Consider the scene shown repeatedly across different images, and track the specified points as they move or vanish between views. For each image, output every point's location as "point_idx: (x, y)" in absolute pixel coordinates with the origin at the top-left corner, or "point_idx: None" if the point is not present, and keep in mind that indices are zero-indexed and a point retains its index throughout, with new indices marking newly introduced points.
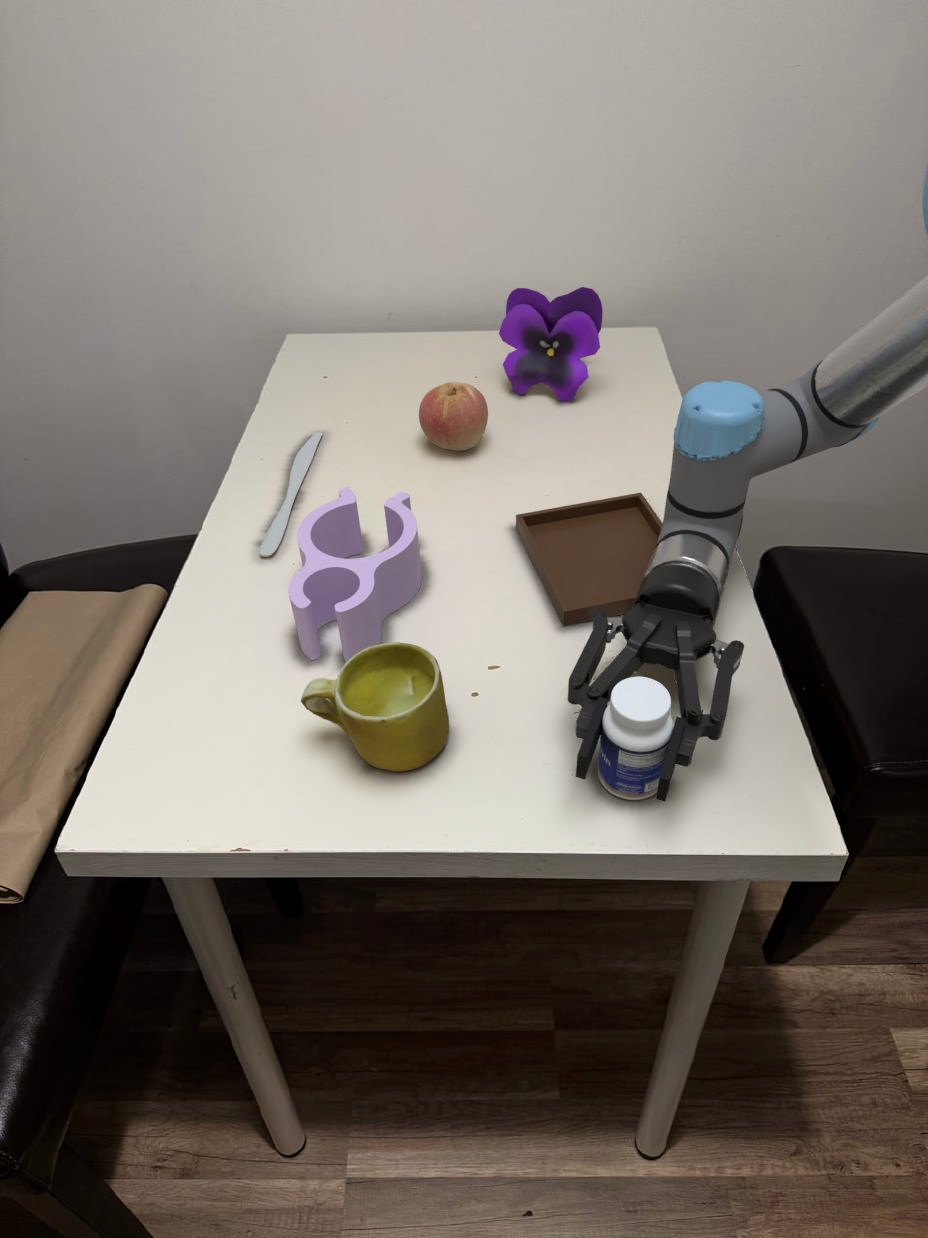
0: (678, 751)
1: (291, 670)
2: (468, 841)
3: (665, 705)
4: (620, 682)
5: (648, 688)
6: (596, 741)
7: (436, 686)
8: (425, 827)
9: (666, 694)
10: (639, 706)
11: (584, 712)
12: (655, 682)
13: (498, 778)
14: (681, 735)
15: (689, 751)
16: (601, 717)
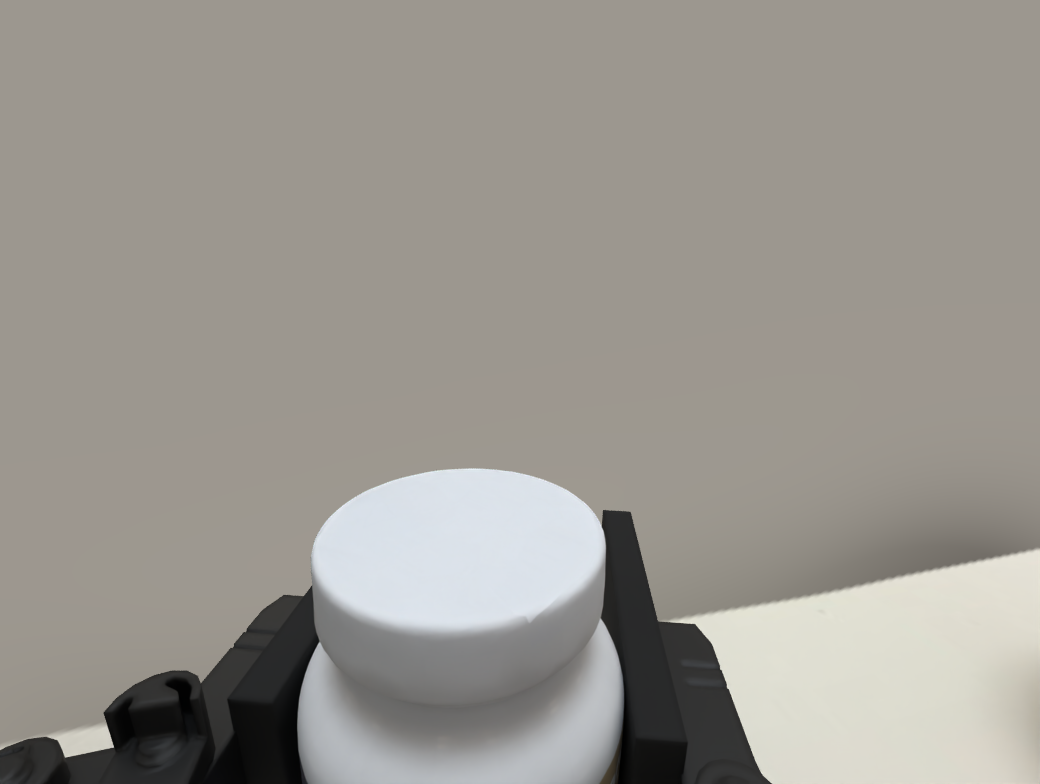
0: None
1: None
2: (772, 608)
3: (352, 513)
4: (581, 570)
5: (424, 563)
6: None
7: None
8: (870, 616)
9: (330, 553)
10: (468, 501)
11: (708, 691)
12: (377, 598)
13: (865, 778)
14: (290, 614)
15: (277, 607)
16: (620, 636)
